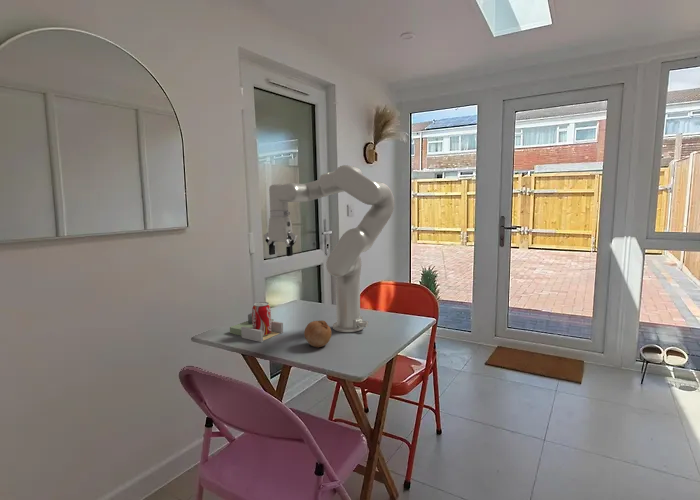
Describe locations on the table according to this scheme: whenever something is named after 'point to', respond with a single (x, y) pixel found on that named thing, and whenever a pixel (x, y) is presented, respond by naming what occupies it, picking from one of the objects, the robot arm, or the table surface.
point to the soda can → (262, 317)
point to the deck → (255, 330)
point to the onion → (317, 333)
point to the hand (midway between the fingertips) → (280, 255)
